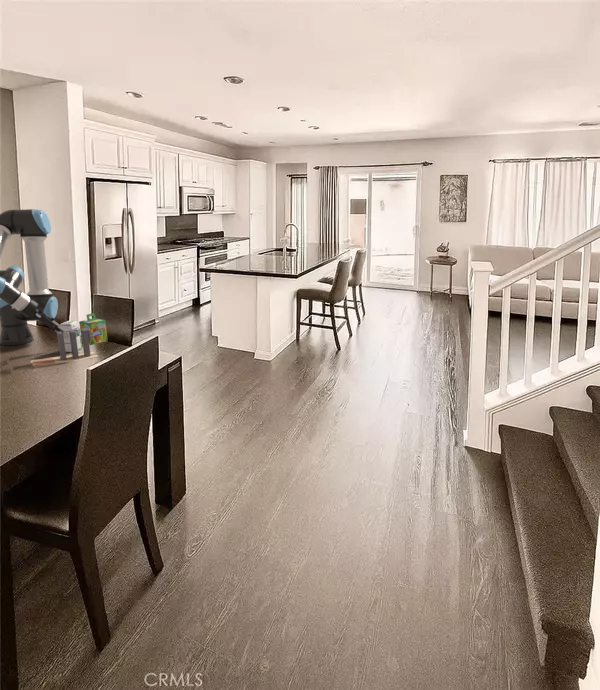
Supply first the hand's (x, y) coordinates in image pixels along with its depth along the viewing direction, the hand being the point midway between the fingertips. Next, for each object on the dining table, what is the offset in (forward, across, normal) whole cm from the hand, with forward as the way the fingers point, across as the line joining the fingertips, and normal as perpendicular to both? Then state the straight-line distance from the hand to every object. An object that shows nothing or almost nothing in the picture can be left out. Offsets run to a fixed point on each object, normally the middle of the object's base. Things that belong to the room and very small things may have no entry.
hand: (66, 334), depth 242 cm
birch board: (+4, +12, -9) cm, 15 cm away
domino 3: (+10, +12, -2) cm, 16 cm away
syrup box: (+8, -1, -5) cm, 10 cm away
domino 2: (+7, +12, -5) cm, 14 cm away
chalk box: (+17, -13, +4) cm, 21 cm away
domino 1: (+3, +12, -9) cm, 15 cm away
